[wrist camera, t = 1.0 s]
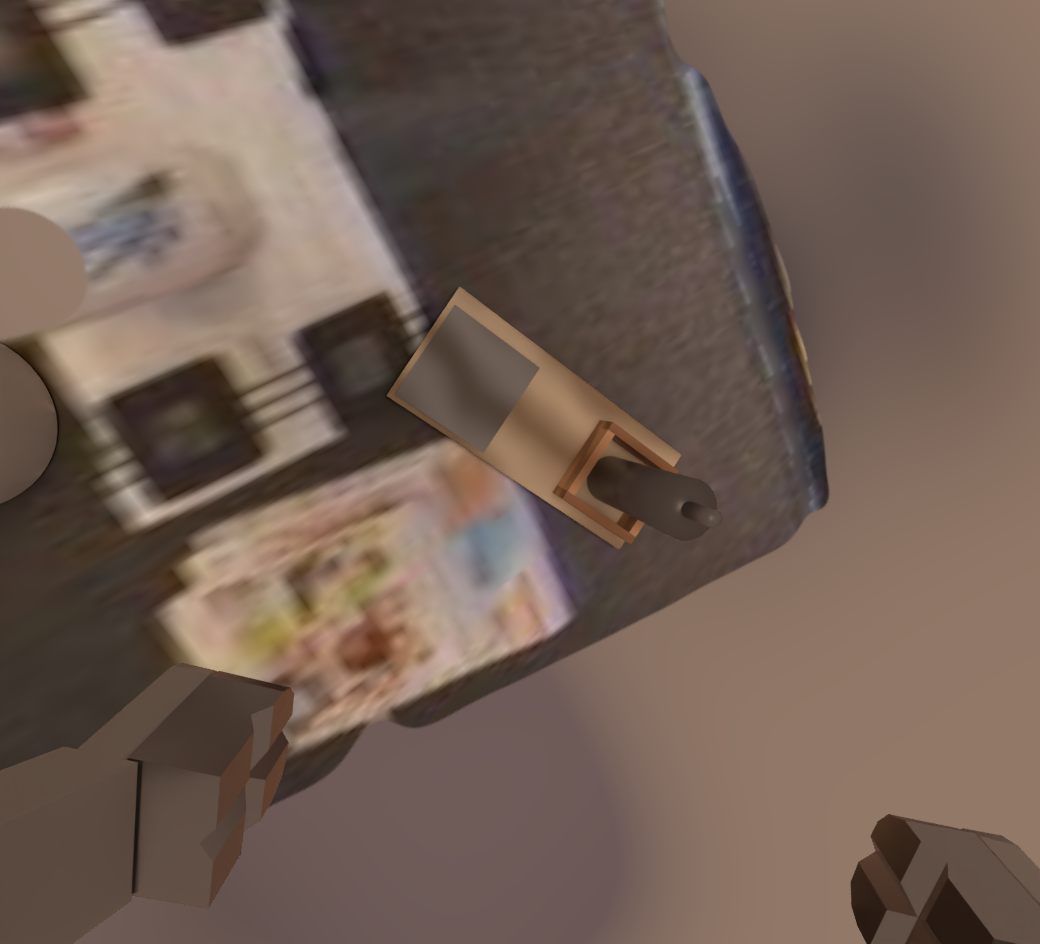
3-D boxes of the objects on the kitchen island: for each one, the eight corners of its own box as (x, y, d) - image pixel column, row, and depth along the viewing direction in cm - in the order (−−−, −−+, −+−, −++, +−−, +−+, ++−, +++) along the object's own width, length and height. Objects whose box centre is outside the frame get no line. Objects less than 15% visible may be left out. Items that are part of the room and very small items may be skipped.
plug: (603, 447, 51) (708, 472, 35) (638, 472, 52) (755, 508, 36) (578, 486, 51) (670, 530, 34) (613, 510, 52) (719, 564, 36)
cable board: (457, 289, 47) (464, 279, 43) (673, 453, 54) (698, 458, 50) (386, 395, 47) (386, 395, 43) (613, 545, 54) (632, 558, 50)
